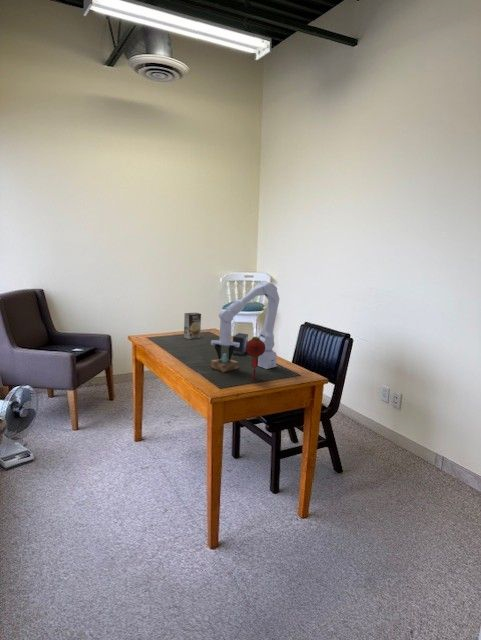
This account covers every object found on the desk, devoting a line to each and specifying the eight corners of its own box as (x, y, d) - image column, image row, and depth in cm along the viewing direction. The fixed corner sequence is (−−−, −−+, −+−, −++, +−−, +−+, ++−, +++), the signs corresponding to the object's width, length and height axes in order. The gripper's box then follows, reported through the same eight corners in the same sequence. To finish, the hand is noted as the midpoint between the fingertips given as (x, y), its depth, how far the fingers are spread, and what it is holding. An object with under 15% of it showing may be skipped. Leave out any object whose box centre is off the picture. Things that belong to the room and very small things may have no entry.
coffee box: (189, 339, 272) (189, 314, 269) (183, 337, 277) (183, 313, 274) (200, 337, 278) (201, 313, 275) (195, 335, 283) (195, 312, 280)
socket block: (238, 368, 216) (238, 361, 215) (223, 372, 209) (223, 365, 209) (225, 363, 223) (225, 357, 223) (210, 366, 217) (210, 360, 216)
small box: (242, 355, 240) (243, 337, 238) (231, 354, 242) (232, 336, 240) (248, 351, 250) (248, 333, 248) (237, 349, 252) (238, 332, 250)
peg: (228, 367, 217) (229, 354, 216) (225, 369, 214) (226, 355, 213) (223, 366, 219) (223, 353, 217) (220, 367, 216) (220, 354, 214)
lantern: (243, 375, 206) (245, 314, 200) (262, 375, 207) (265, 315, 201) (244, 381, 197) (247, 318, 191) (265, 381, 198) (268, 318, 192)
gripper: (241, 332, 215) (240, 358, 218) (213, 330, 218) (213, 355, 221) (238, 335, 209) (237, 362, 211) (209, 333, 211) (209, 359, 214)
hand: (224, 359), depth 216 cm, fingers open, 5 cm apart
